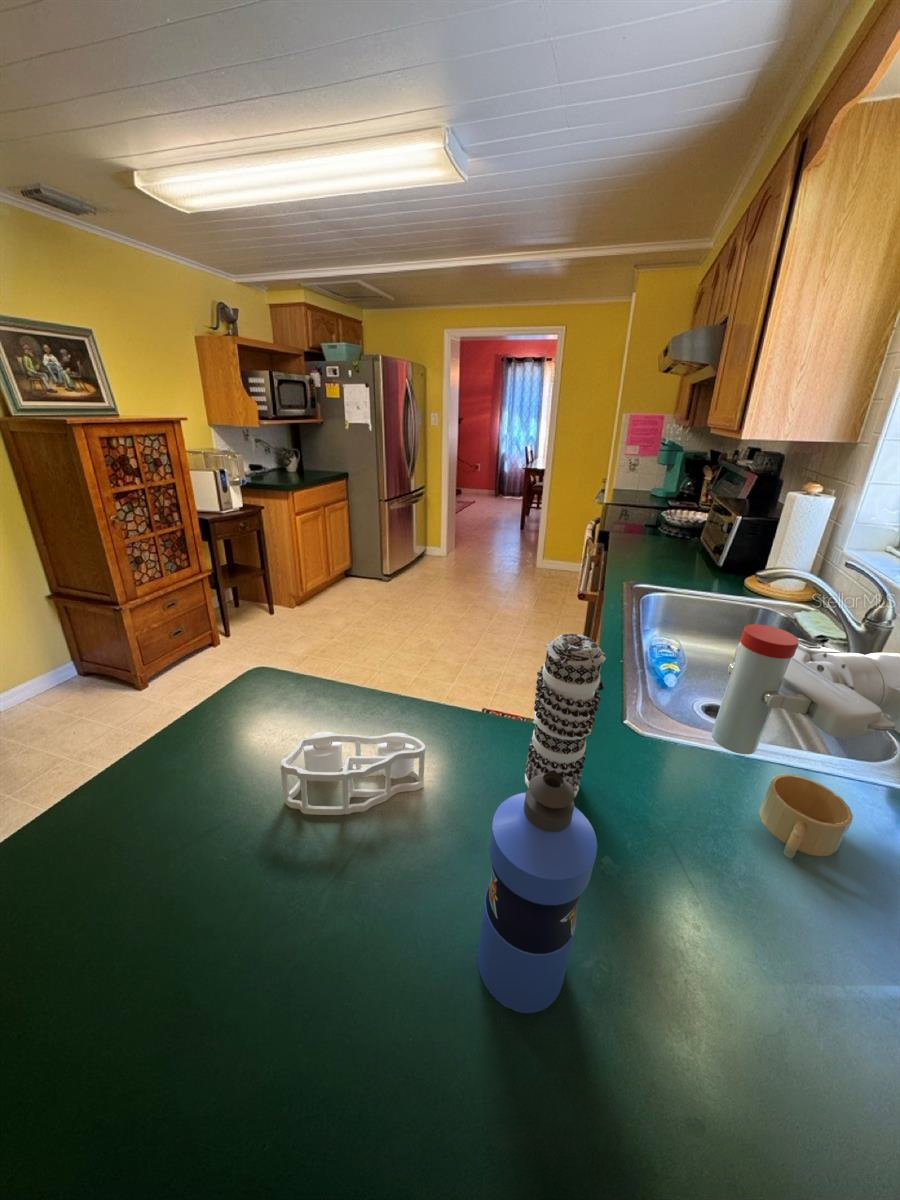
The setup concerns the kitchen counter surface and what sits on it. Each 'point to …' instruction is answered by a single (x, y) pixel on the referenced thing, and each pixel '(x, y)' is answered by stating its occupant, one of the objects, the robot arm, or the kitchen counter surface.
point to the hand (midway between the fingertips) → (747, 684)
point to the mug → (805, 815)
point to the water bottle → (534, 893)
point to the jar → (752, 686)
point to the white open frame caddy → (352, 769)
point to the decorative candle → (565, 708)
